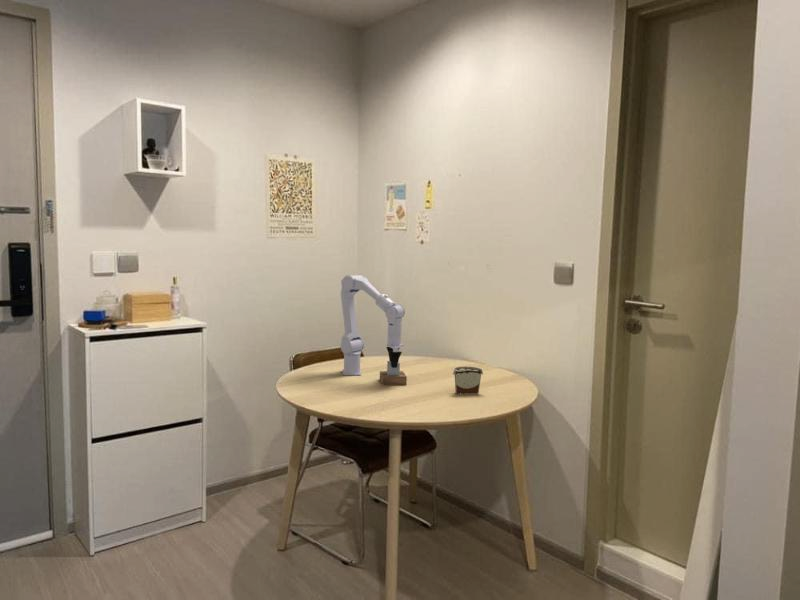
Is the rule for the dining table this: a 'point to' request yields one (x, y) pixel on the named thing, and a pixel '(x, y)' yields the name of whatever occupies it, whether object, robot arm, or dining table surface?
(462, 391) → the food container
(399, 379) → the walnut block
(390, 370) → the gray cube
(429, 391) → the dining table surface
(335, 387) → the dining table surface
